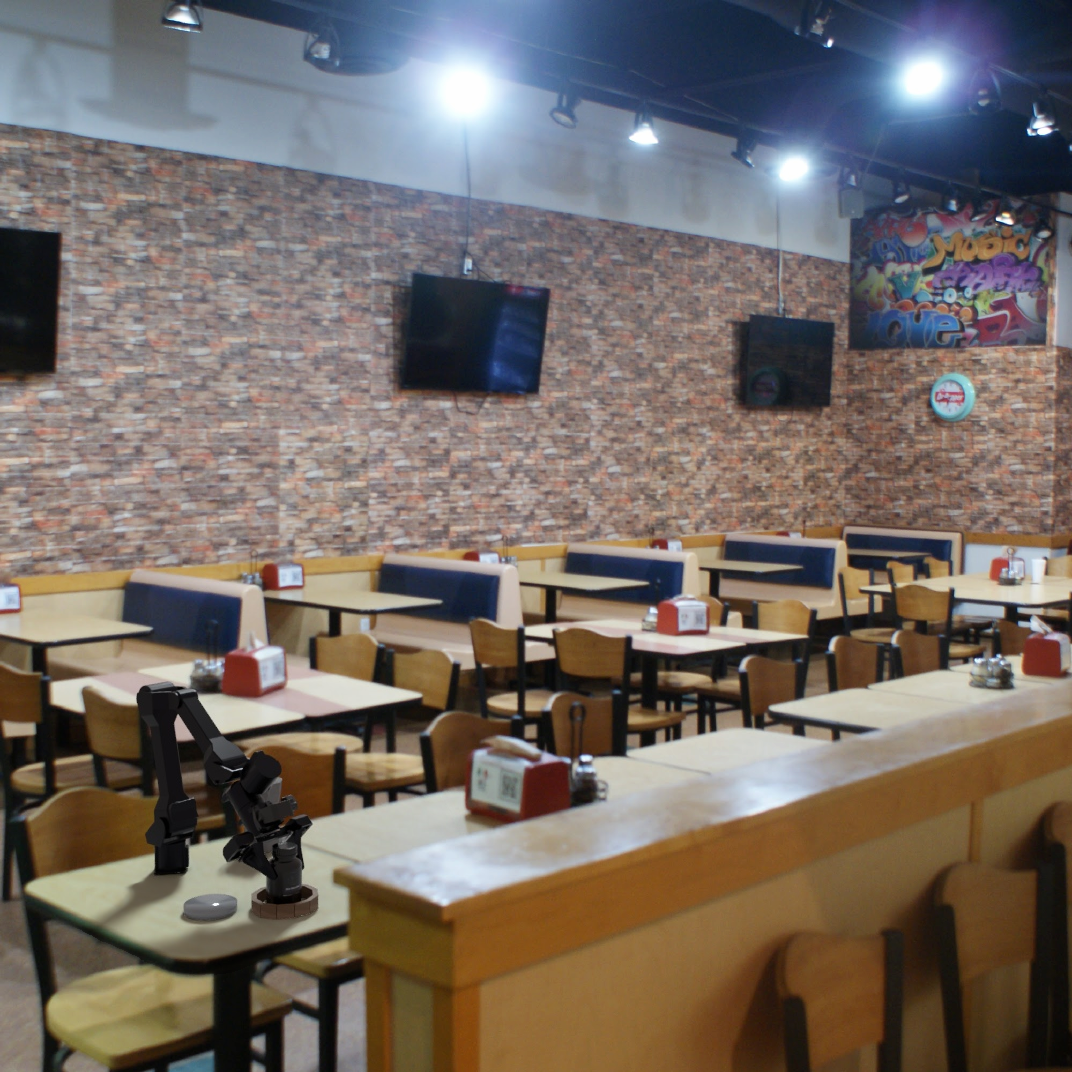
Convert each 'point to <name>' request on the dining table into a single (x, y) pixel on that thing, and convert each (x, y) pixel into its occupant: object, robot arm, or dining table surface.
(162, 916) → the dining table surface
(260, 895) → the ring holder
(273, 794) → the coffeepot
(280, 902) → the supplement bottle
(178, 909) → the dining table surface
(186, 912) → the coaster
